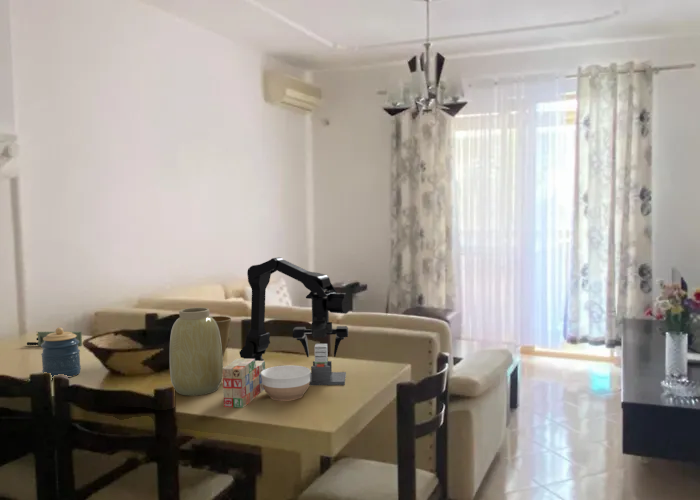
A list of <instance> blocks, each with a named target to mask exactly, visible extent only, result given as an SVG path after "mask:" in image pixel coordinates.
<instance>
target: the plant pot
mask: <svg viewBox="0 0 700 500" xmlns="http://www.w3.org/2000/svg"><path fill="white" fill-rule="evenodd" d="M210 316H211V315H210ZM211 317H212V318H213V319H214V320H215V321H216V323H217V325H218V328H219V332H220V337H221V345H222V356H223V357H224V356H225V352H226V349H227V346H228V342H229V337H230V331H231V324H232V323H231V322H232V318H231V316H230V317H229V316H223V315H215V316H213V315H212V316H211Z"/></svg>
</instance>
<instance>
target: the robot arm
mask: <svg viewBox="0 0 700 500" xmlns="http://www.w3.org/2000/svg"><path fill="white" fill-rule="evenodd" d="M275 272H279V273H281V274H283V275H285V276H288V277H289V278H292V279H294V280H296V281H298V282H299V283H301V284H302V285H303V286H304V288H306V289H307V290H309V293H308V294H307V295H306V296H305V298H306V299H309V300H311V324H310V328H311V329H310V328H309V329H307V328H306V326H295V327H294V328H293V330H292V338H293V339H296V340H297V341H300V343H301V345H302V346H303V349H304V352H305V354H306V357H307V358H309V356H310V355H309V354H310V352H309V351H310V350H309V346H308V345H309V344H308V343H309V342H308V337H307V336H311V337H312V338H313V339H316V338H323V339H324V338H326V337H327V336H328V335H331V336H332V335H335V341H334V349H333V357H334V358H335V357H336V356H337V352H338V349H339V346H340V344H341V341H342V340H345V338H348V337H349V327H348V326H347V325H345V326H344V325H342V326H341V325H340V326H339V325H337V326H336V328H333V322H332V321H329V320H330V318H329V313H332V314H343V315H344V314H345V315H346V314H348V313H349V312H350V308H351V301H350V299H349V297H348V295H347V292H341V293H338V291H337V290H336V289H335V287H334V285H333V284H332V282H331V279H330V276H328V275H327V274H324V273H320V272H315V271H311V270H310V271H309V270H308V269H307V270H306V269H305V268H303V267H302V266H301V267H300V266H298V265H296V264H294V263H292V262H289V261H288V260H285V259H284V258H282V257H280V256H278V257H272V258H271V259H269V260H266V261H264V262H262V263H260V264H254V265H251V266H250V267H249V268H248V269H247V272H246V273H247V282H248V284H249V287H250V288H251V304H250V305H251V306H250V308H251V310H250V329H249V331H248V333H247V335H246V339H245V343H244V346H243V347H242V348H241V350H240V351H239V355H240V358H241V359H255V361H265V360H264V358H263V355H265V353H266V350H267V349H268V348H269V345H270V344H271V341H270V339H271V338H270V337H271V333H270V332H267V331H266V328H265V323H266V321H265V320H266V319H265V315H266V314H265V312H266V293H267V292H266V289H267V287H268V285H269V284H270V280H271V276H272V274H274V273H275Z"/></svg>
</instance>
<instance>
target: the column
mask: <svg viewBox="0 0 700 500" xmlns="http://www.w3.org/2000/svg"><path fill="white" fill-rule="evenodd" d="M314 361H315V366H317V364H324V366H328V361H329V357H328V343H315V345H314Z"/></svg>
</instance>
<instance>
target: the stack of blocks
mask: <svg viewBox="0 0 700 500" xmlns="http://www.w3.org/2000/svg"><path fill="white" fill-rule="evenodd" d="M265 369H266V361H265V360H264V361H255V359H244V358H241V357H240V358H238V357H237V358H235V359H234V360H233V361H231V362H230V363H229V364H227V365H225V366H223V377H222V390H223V407H224V408H241V409H243V408H244V407H245V406H247V405H249V403H250V402H251V401H253V400H254V399H255V398H256V397H257V396H258V395H259V394H260V393H262V392H263V391H265V390H264V388H263V384H262V376H261V372H262V371H263V370H265Z"/></svg>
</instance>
